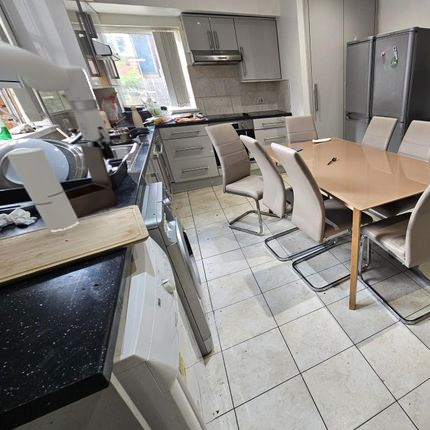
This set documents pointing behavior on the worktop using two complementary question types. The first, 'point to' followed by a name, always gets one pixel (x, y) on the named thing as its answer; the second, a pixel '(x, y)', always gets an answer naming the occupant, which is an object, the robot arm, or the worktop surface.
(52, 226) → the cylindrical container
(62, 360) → the worktop surface
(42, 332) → the worktop surface
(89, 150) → the lid
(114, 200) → the chest
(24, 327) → the worktop surface
